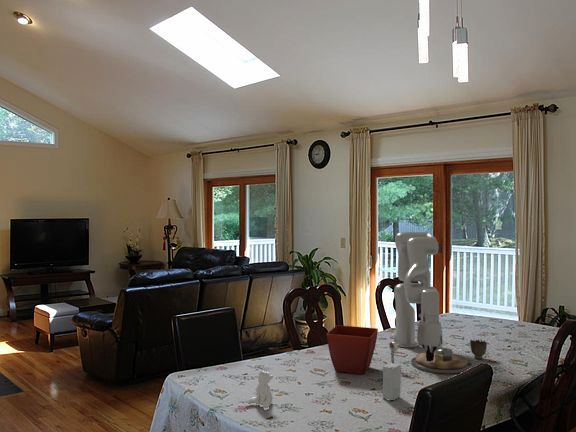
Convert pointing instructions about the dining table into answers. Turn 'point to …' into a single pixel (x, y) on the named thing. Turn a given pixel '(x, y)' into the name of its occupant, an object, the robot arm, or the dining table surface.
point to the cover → (445, 353)
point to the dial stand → (393, 347)
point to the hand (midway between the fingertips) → (429, 360)
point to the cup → (478, 348)
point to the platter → (438, 361)
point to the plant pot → (351, 348)
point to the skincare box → (391, 381)
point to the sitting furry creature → (262, 391)
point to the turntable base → (439, 371)
